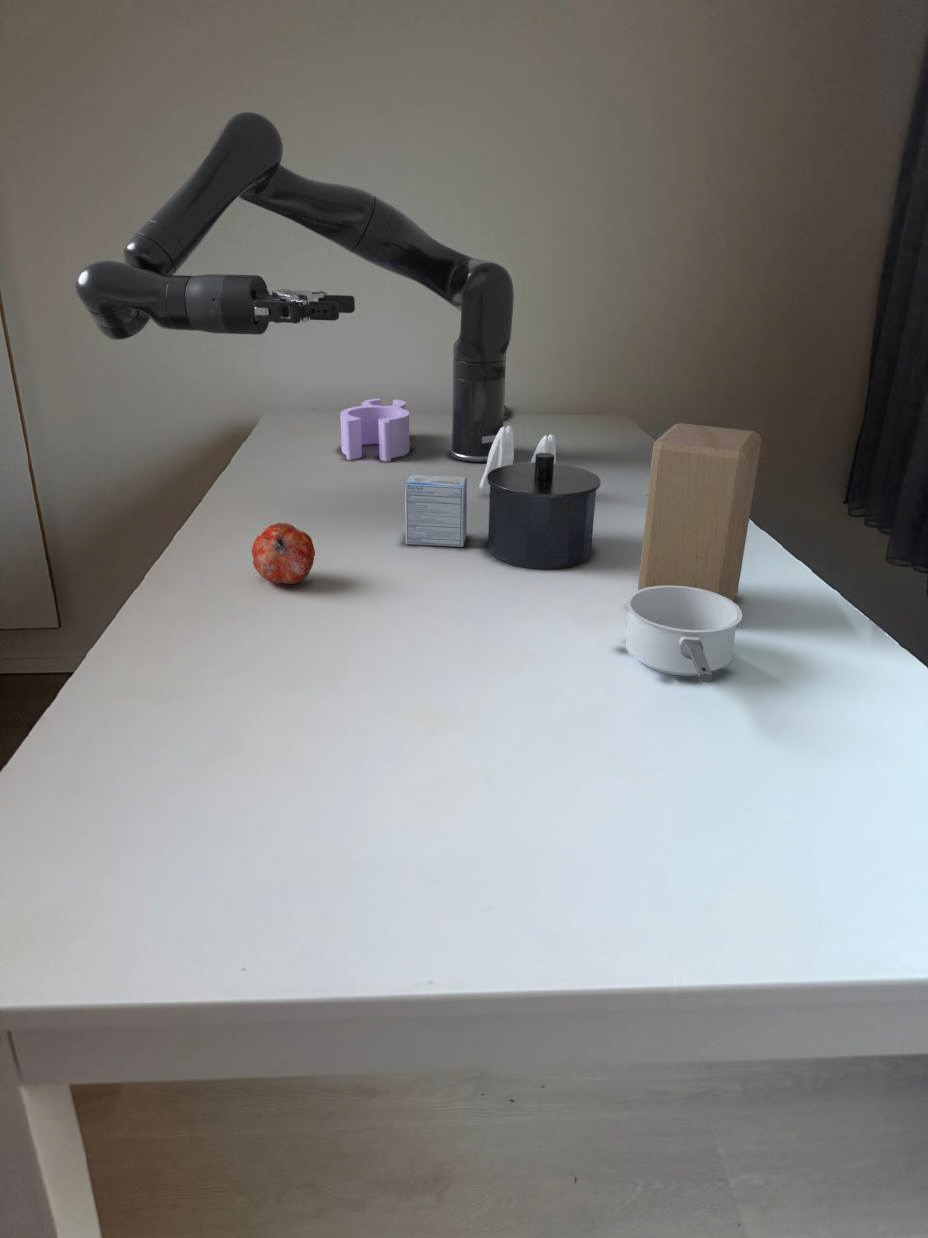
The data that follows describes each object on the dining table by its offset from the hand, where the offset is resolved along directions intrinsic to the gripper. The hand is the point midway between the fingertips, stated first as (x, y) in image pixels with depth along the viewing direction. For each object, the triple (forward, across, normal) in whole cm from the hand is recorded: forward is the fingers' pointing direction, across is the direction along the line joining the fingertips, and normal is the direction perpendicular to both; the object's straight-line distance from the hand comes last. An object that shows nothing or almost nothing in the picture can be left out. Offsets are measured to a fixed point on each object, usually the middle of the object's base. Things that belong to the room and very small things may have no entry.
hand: (346, 307), depth 120 cm
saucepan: (+43, -42, +29) cm, 67 cm away
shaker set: (+22, +15, +30) cm, 40 cm away
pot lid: (+27, -9, +20) cm, 35 cm away
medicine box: (+13, -8, +29) cm, 33 cm away
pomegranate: (-3, -25, +29) cm, 38 cm away
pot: (+27, -9, +29) cm, 41 cm away
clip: (-5, +41, +29) cm, 51 cm away
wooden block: (+45, -24, +30) cm, 59 cm away
